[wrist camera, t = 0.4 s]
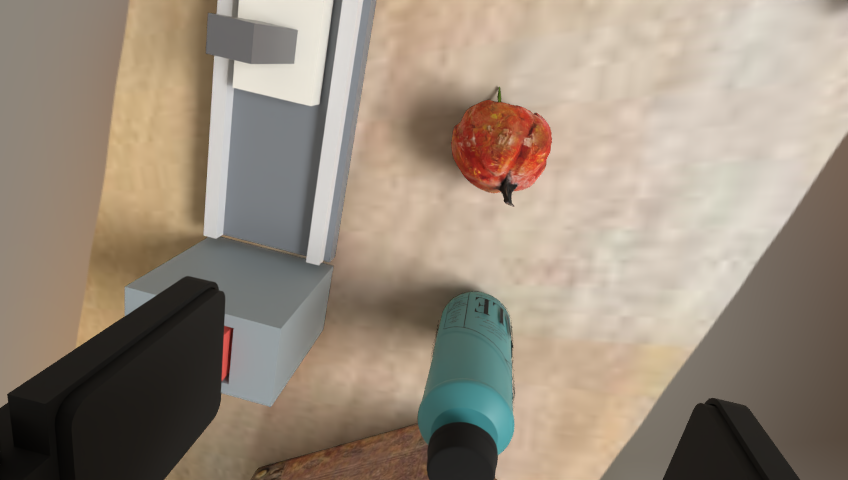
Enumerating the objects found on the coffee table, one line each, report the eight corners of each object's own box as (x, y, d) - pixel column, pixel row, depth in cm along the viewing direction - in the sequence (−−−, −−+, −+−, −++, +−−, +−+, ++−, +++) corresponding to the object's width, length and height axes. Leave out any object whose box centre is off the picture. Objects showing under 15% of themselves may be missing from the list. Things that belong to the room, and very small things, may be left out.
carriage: (253, -22, 39) (183, -44, 30) (333, -4, 38) (286, -22, 30) (244, 86, 42) (178, 92, 33) (319, 104, 41) (272, 115, 33)
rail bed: (230, -33, 40) (212, -39, 38) (376, 0, 40) (367, -4, 37) (213, 224, 48) (197, 233, 46) (334, 256, 47) (325, 267, 45)
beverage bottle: (435, 335, 48) (392, 507, 30) (449, 272, 46) (413, 416, 27) (502, 352, 48) (502, 537, 29) (520, 289, 46) (532, 447, 27)
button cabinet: (212, 234, 48) (124, 286, 37) (333, 265, 48) (280, 328, 36) (208, 298, 51) (124, 365, 40) (323, 329, 50) (270, 407, 39)
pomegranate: (452, 108, 44) (444, 217, 40) (459, 52, 37) (450, 179, 34) (539, 115, 43) (538, 225, 40) (562, 60, 37) (563, 188, 33)
